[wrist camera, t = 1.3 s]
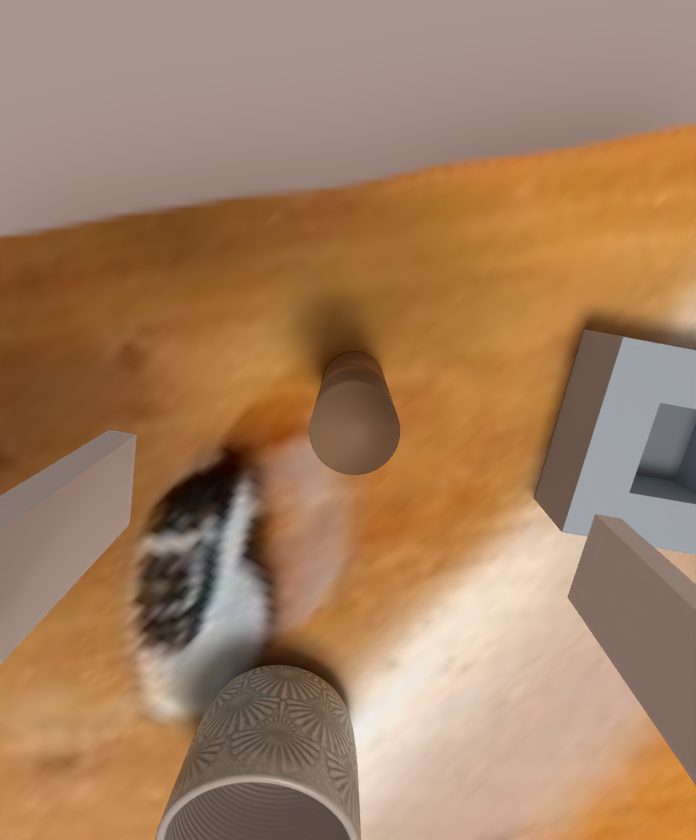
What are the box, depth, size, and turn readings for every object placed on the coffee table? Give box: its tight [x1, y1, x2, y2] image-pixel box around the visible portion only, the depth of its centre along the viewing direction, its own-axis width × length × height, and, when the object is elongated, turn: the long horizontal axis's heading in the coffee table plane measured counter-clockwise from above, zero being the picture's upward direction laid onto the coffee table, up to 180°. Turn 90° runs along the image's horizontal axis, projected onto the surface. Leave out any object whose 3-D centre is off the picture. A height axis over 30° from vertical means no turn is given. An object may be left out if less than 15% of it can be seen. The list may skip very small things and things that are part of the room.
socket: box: [534, 329, 696, 555], centre depth 33 cm, size 12×12×5 cm
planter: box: [155, 665, 361, 840], centre depth 36 cm, size 12×12×11 cm
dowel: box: [309, 351, 400, 475], centre depth 29 cm, size 4×4×12 cm
